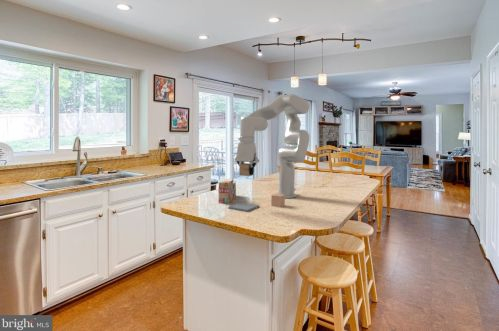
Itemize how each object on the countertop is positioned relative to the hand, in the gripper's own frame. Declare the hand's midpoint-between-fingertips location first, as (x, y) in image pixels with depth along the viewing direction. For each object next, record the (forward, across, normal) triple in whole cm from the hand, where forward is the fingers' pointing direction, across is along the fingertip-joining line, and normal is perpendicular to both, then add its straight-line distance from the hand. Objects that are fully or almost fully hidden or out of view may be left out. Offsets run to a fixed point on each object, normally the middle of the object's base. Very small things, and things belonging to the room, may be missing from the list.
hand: (246, 173), depth 167 cm
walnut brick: (+1, 0, 0) cm, 1 cm away
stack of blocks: (+18, -20, +10) cm, 29 cm away
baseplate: (+18, 0, -2) cm, 18 cm away
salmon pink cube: (+18, +13, +13) cm, 26 cm away
